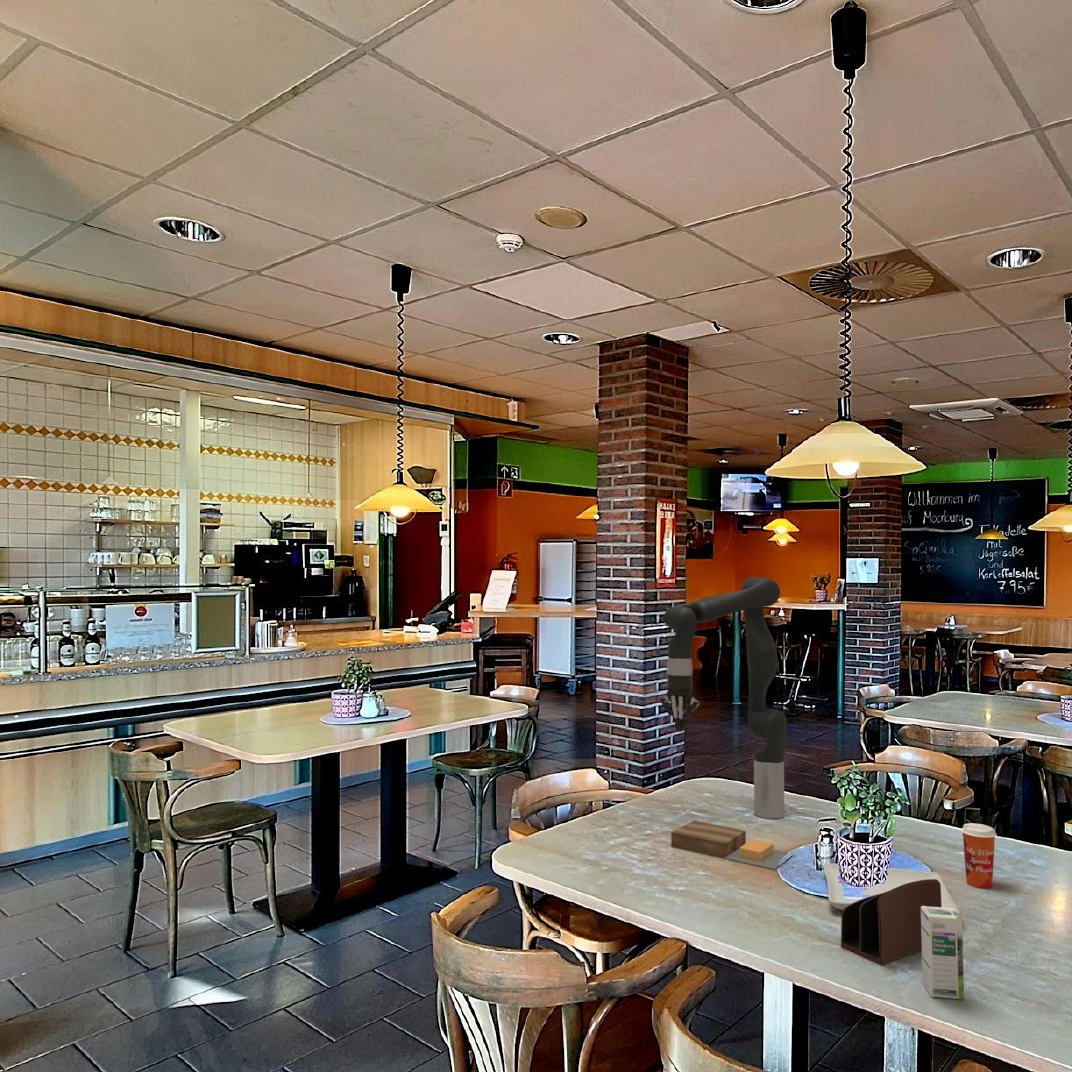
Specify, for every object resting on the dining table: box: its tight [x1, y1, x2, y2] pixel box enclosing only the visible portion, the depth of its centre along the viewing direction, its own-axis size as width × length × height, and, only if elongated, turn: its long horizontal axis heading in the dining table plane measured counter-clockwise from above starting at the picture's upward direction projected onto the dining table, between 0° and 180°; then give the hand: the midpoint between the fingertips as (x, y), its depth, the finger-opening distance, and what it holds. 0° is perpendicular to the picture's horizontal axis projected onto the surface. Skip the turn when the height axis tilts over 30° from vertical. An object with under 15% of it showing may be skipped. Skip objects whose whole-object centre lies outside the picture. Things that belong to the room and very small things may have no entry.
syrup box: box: [921, 906, 965, 1000], centre depth 156 cm, size 6×6×14 cm
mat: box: [723, 848, 790, 871], centre depth 228 cm, size 15×14×1 cm
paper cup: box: [961, 822, 998, 890], centre depth 210 cm, size 8×8×14 cm
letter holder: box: [840, 879, 942, 966], centre depth 175 cm, size 10×20×14 cm, turn 121°
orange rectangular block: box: [739, 839, 775, 862], centre depth 229 cm, size 9×6×2 cm, turn 143°
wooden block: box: [670, 820, 747, 859], centre depth 237 cm, size 14×16×4 cm
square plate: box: [822, 862, 961, 916], centre depth 200 cm, size 27×27×4 cm
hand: (679, 730), depth 255 cm, fingers closed
